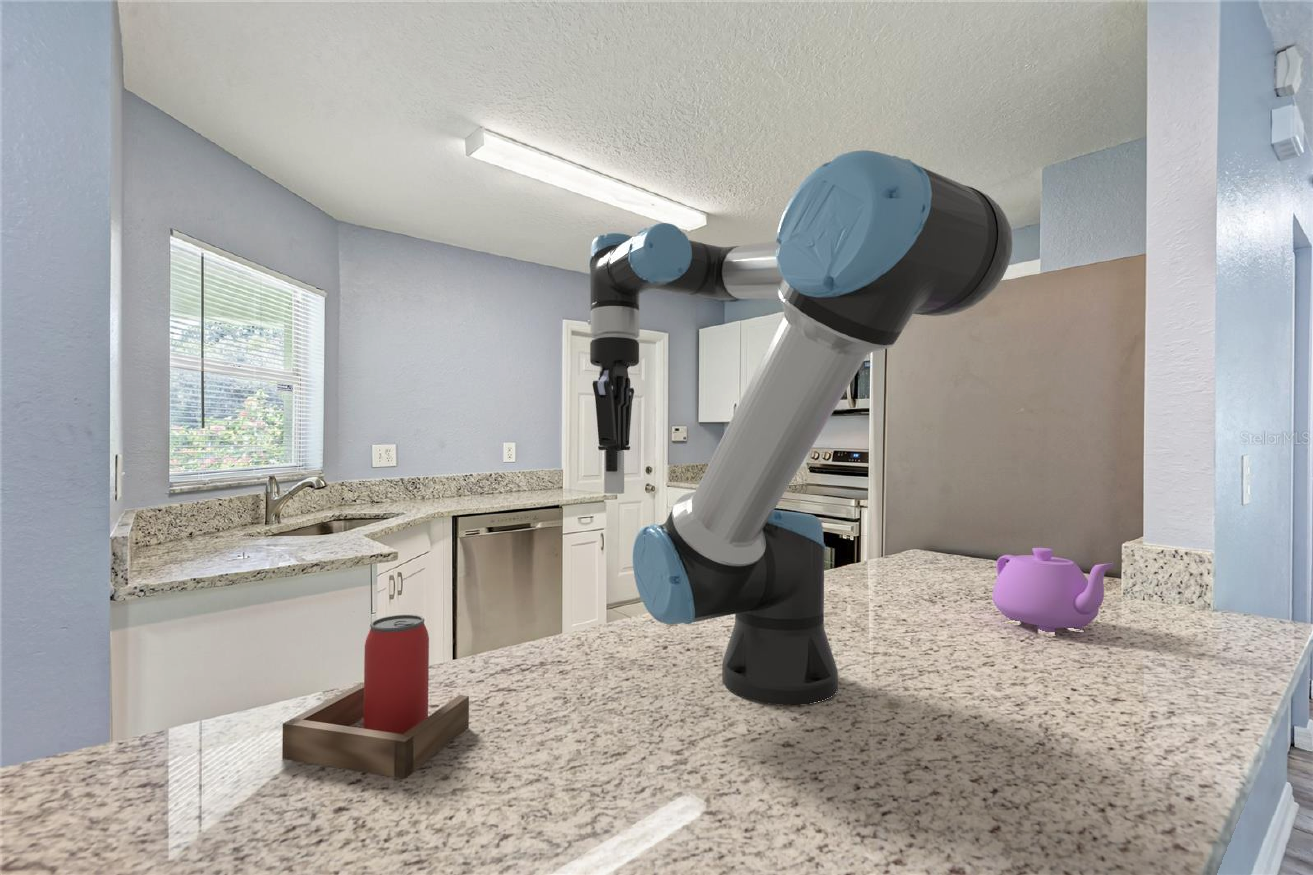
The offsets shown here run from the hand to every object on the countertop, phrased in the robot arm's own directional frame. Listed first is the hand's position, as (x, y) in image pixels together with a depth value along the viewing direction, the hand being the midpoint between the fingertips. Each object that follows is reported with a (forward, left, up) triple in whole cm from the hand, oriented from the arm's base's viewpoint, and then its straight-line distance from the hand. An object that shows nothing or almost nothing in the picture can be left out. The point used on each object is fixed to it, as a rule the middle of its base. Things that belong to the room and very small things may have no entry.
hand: (614, 493), depth 92 cm
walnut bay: (+15, +32, -24) cm, 43 cm away
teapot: (-69, -32, -25) cm, 80 cm away
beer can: (+15, +30, -25) cm, 42 cm away
